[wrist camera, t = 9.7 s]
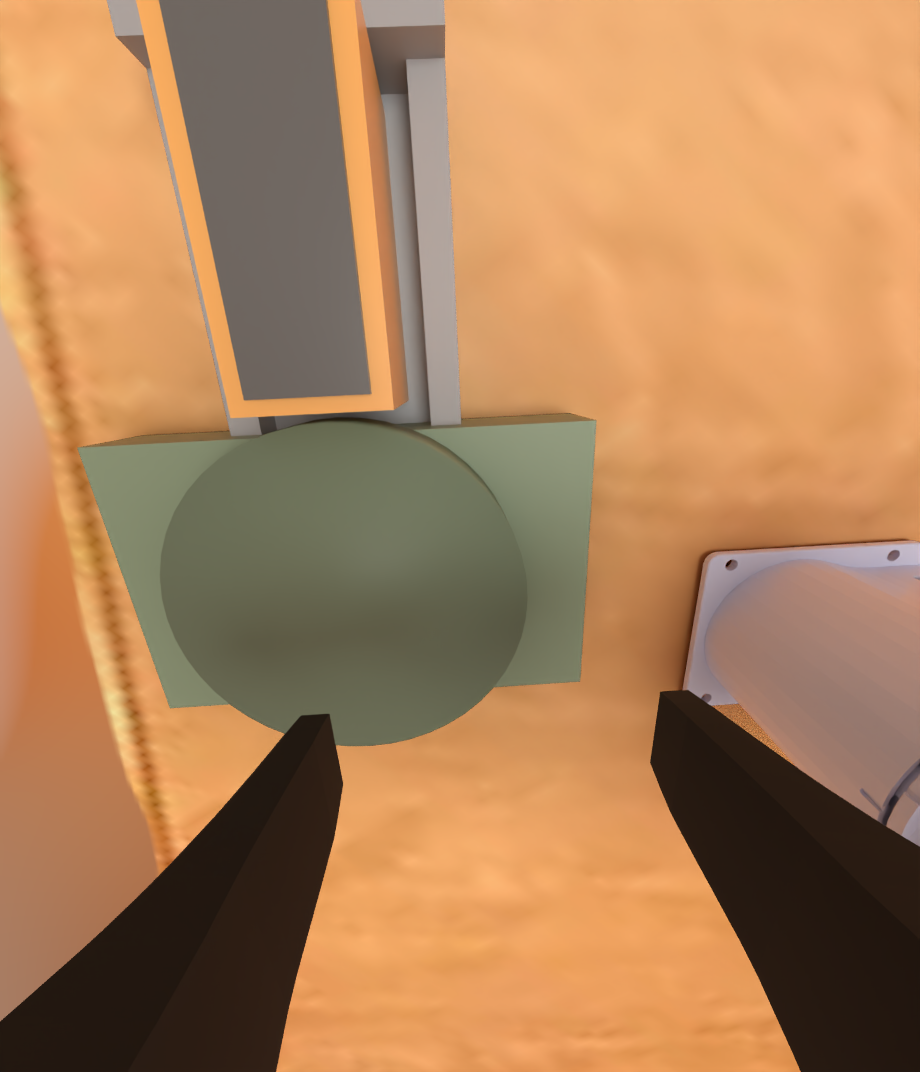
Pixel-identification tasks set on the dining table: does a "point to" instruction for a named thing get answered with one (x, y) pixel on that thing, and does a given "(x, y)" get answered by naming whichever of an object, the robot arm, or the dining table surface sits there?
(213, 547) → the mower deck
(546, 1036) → the dining table surface
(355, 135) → the orange-framed grey panel
